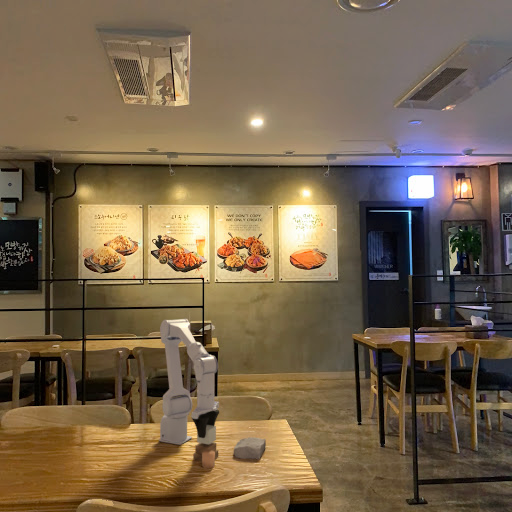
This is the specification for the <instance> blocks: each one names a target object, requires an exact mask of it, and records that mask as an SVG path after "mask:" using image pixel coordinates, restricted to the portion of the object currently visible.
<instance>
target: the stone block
mask: <svg viewBox="0 0 512 512" xmlns="http://www.w3.org/2000/svg"><path fill="white" fill-rule="evenodd" d="M266 442H267V441H266V438H259V437H253V436H252V437H251V436H250V437H247V438H246V437H244V438H241V439H239V440H238V442H237V443H236V444H235V446H234V447H233V454H234V456H235V458H237V459H244V460H245V459H249V460H260V459H261V457H262V455H263V453H264V451H265V449H266V448H267V447H266V446H267V444H266Z"/></svg>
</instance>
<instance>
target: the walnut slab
mask: <svg viewBox="0 0 512 512" xmlns="http://www.w3.org/2000/svg"><path fill="white" fill-rule="evenodd" d="M192 455H193V459H192V460H193V461H197V462H202V454H197V453H195V452H193V454H192ZM217 458H219V450H218V449H216V451H215V459H217Z"/></svg>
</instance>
